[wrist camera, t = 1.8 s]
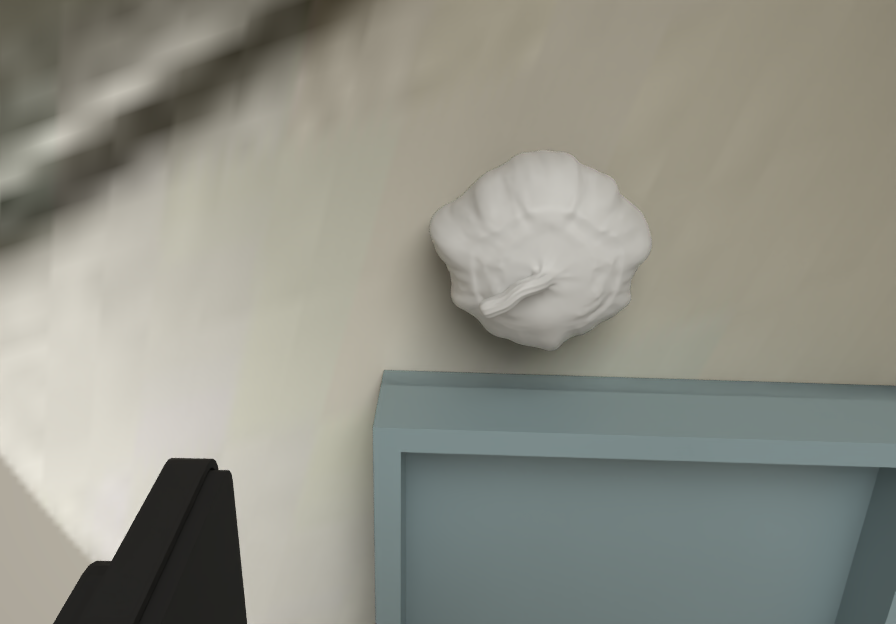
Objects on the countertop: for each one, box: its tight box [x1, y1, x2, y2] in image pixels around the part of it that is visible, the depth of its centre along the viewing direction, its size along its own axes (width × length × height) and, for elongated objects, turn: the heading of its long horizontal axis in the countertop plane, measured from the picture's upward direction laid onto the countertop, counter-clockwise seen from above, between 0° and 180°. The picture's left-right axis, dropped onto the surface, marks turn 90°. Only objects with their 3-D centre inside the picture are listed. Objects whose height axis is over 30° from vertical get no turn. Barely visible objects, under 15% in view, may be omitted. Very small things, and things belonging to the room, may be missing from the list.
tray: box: [373, 370, 896, 624], centre depth 27 cm, size 17×15×4 cm
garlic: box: [429, 150, 652, 351], centre depth 22 cm, size 6×5×5 cm
